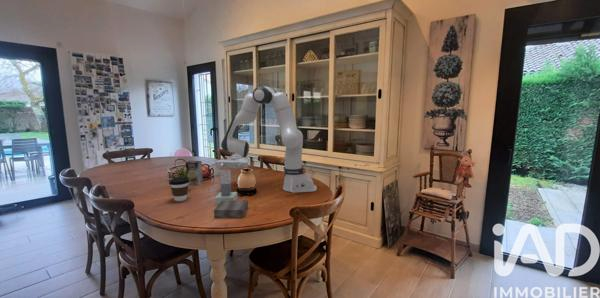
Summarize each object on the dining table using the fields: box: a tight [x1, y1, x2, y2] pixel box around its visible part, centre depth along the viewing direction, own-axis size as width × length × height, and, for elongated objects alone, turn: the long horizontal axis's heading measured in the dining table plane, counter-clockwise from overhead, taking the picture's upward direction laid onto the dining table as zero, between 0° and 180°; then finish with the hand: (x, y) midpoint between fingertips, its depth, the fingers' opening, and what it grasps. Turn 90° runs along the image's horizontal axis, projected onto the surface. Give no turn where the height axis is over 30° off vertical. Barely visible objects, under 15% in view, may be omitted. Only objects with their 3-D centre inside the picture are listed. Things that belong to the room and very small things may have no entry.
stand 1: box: [214, 191, 238, 206], centre depth 159 cm, size 10×10×4 cm
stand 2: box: [213, 199, 249, 219], centre depth 143 cm, size 14×14×4 cm
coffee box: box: [185, 160, 203, 186], centre depth 196 cm, size 9×6×16 cm
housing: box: [219, 169, 232, 196], centre depth 158 cm, size 5×5×14 cm
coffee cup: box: [168, 177, 189, 202], centre depth 163 cm, size 11×11×12 cm
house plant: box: [172, 166, 191, 192], centre depth 180 cm, size 14×14×16 cm
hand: (229, 166), depth 169 cm, fingers open, 8 cm apart
